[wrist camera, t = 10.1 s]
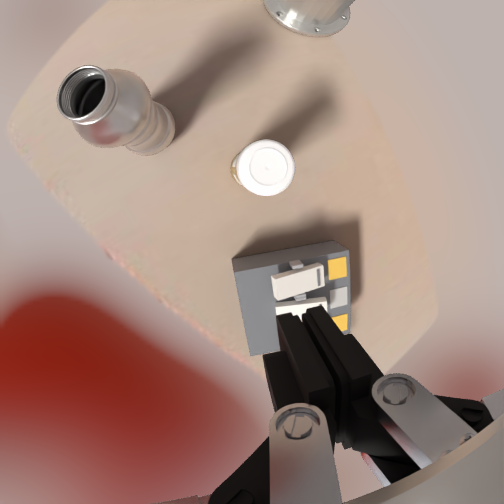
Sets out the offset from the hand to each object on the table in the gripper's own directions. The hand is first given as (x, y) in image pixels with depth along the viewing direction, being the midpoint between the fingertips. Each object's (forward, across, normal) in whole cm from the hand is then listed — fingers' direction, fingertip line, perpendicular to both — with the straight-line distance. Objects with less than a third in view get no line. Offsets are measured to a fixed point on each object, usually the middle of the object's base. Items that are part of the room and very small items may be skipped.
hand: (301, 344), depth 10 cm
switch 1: (+21, -5, +7) cm, 23 cm away
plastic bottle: (+27, +9, -13) cm, 32 cm away
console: (+27, -5, +11) cm, 30 cm away
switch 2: (+21, -5, +11) cm, 24 cm away
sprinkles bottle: (+27, -2, -6) cm, 28 cm away
